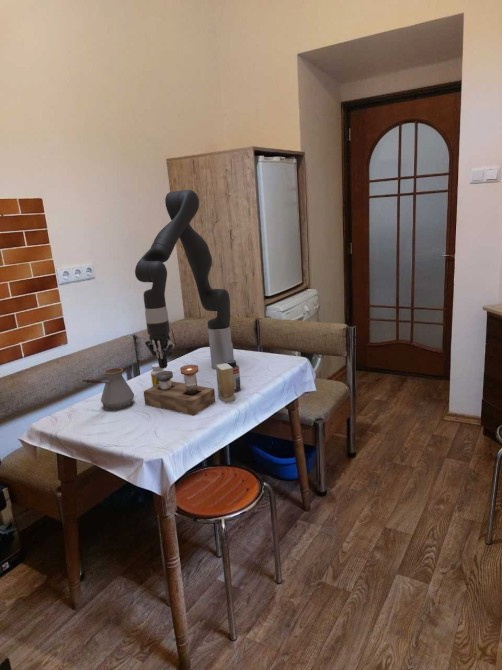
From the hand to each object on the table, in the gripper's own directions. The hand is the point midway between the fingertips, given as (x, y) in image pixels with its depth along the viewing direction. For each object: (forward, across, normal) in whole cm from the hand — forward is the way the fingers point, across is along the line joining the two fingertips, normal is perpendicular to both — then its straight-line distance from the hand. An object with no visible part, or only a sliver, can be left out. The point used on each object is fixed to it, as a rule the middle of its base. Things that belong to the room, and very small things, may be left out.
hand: (163, 367), depth 166 cm
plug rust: (+8, -12, 0) cm, 14 cm away
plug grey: (+12, 0, 0) cm, 12 cm away
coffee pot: (+12, +13, +15) cm, 24 cm away
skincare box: (+13, -19, -10) cm, 25 cm away
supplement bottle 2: (+13, -16, -18) cm, 27 cm away
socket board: (+12, -6, 0) cm, 14 cm away
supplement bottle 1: (+13, +11, -8) cm, 19 cm away
